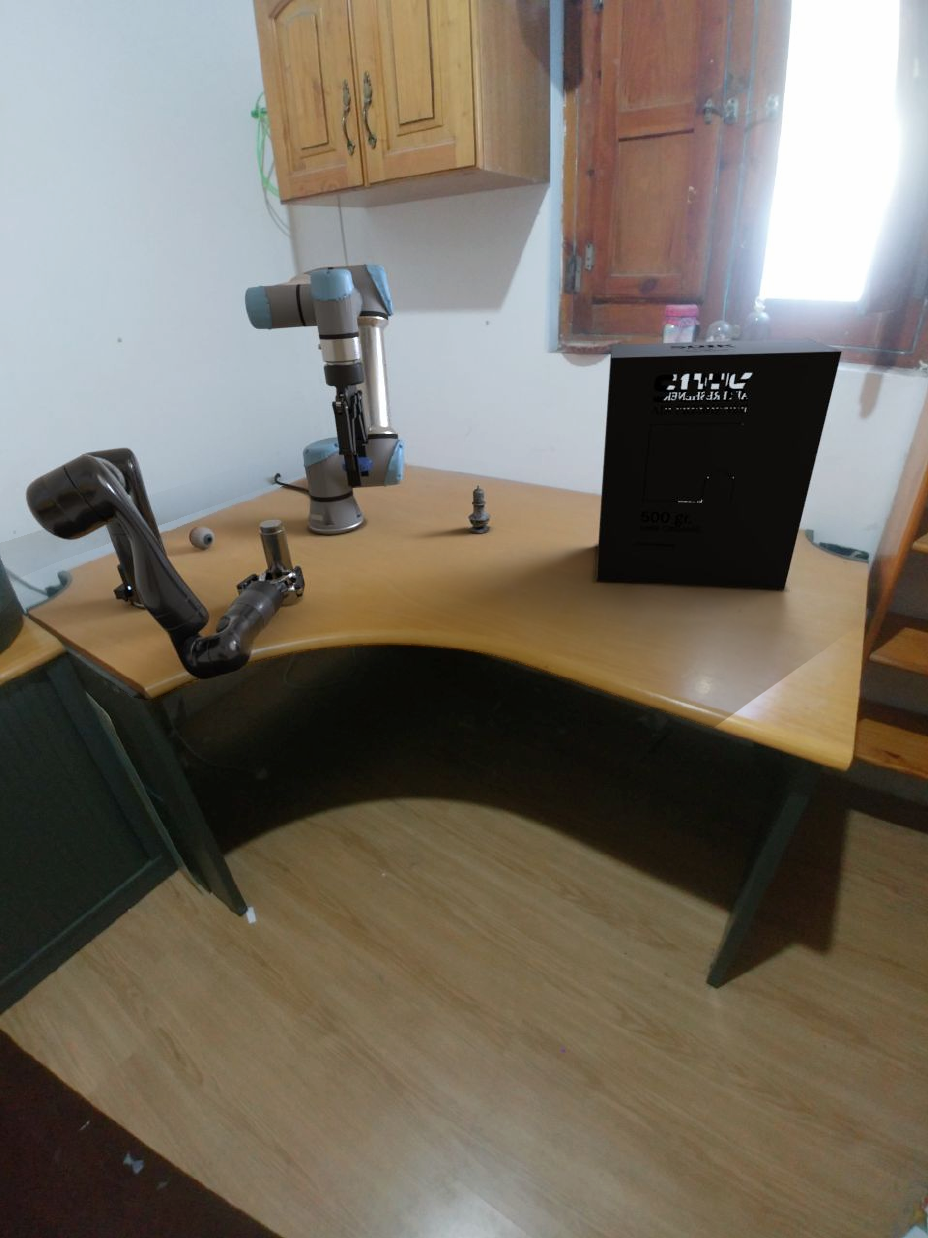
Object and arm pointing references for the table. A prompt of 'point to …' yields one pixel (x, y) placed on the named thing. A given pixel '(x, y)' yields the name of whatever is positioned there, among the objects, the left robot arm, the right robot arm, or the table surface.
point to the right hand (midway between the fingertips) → (359, 480)
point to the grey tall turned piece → (479, 513)
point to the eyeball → (201, 537)
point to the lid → (361, 464)
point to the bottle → (277, 553)
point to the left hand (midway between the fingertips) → (286, 569)
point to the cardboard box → (710, 460)
